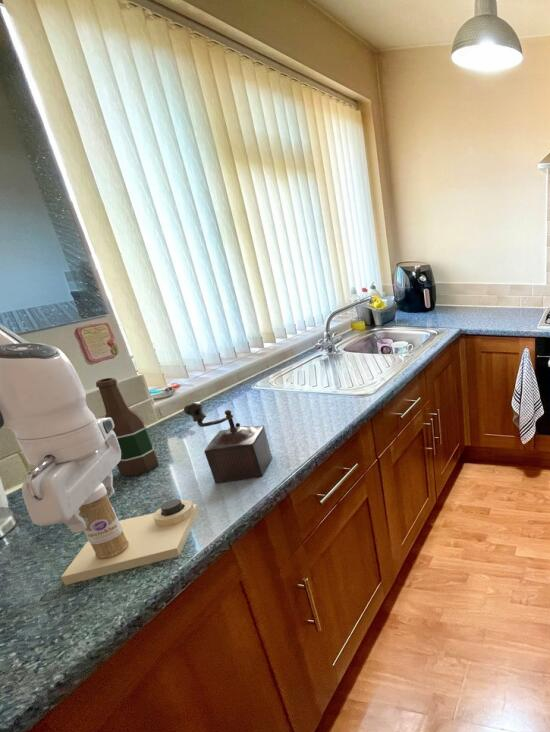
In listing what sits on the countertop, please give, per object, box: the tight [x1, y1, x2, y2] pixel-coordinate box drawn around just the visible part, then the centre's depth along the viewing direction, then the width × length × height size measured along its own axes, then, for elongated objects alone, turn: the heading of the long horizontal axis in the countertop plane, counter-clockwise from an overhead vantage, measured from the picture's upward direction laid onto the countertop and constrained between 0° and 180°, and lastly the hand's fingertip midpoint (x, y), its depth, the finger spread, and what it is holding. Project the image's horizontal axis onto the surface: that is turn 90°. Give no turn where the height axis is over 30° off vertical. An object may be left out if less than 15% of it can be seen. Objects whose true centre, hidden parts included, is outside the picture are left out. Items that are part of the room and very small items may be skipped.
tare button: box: [160, 498, 183, 516], centre depth 81 cm, size 3×3×2 cm
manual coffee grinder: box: [183, 400, 273, 485], centre depth 97 cm, size 16×11×18 cm
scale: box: [60, 499, 200, 586], centre depth 77 cm, size 16×14×4 cm
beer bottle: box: [95, 377, 159, 477], centre depth 97 cm, size 8×8×24 cm
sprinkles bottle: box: [78, 483, 129, 559], centre depth 71 cm, size 5×5×13 cm
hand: (95, 512), depth 70 cm, fingers open, 8 cm apart
